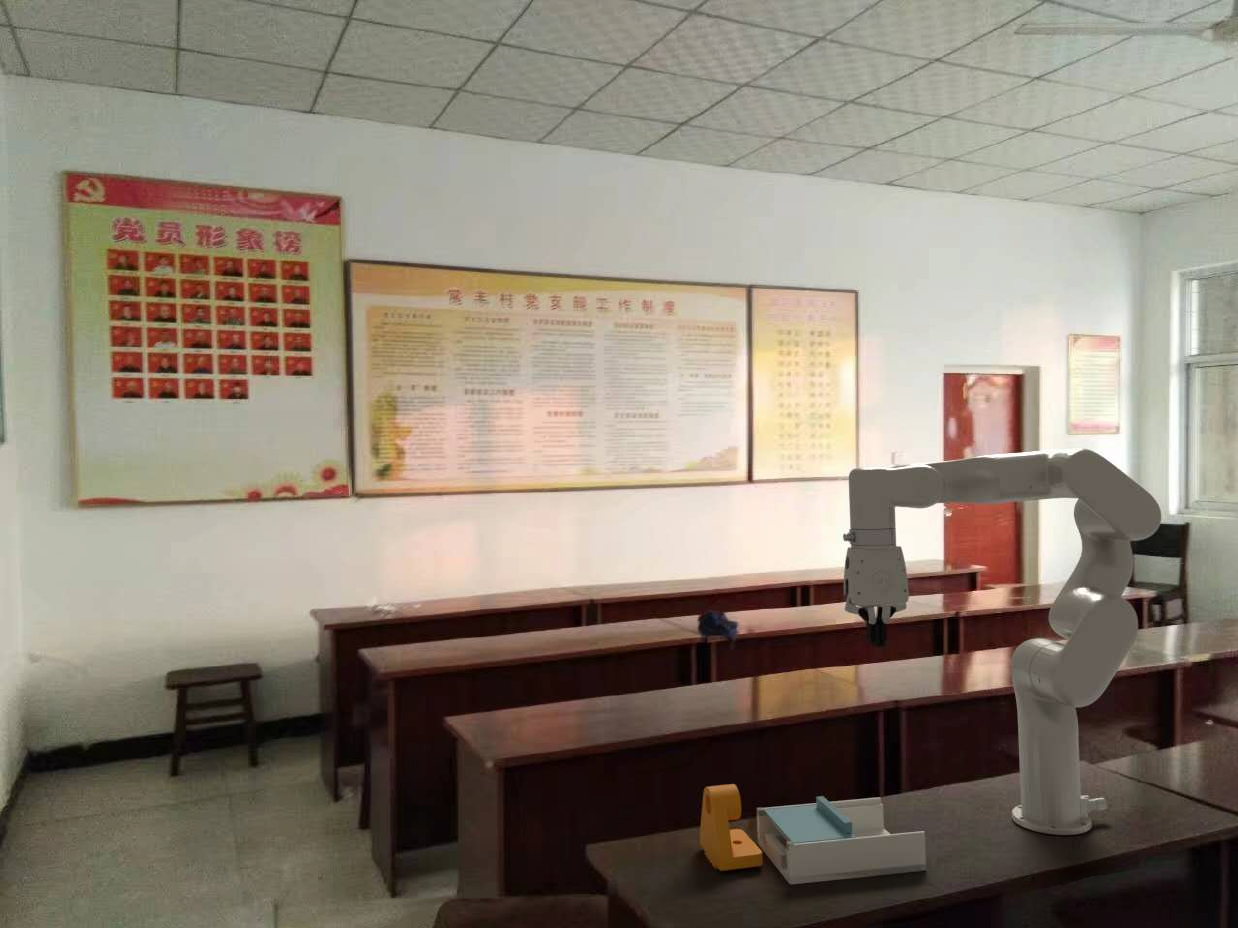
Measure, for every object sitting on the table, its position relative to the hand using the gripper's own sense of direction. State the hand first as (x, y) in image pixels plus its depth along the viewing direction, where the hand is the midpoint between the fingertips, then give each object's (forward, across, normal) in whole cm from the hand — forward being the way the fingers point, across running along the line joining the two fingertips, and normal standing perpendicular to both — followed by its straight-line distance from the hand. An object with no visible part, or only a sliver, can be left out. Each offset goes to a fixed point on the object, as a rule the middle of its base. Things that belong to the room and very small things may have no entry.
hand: (877, 645), depth 159 cm
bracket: (+32, -28, -4) cm, 43 cm away
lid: (+27, -16, -7) cm, 32 cm away
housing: (+32, -11, -7) cm, 35 cm away
